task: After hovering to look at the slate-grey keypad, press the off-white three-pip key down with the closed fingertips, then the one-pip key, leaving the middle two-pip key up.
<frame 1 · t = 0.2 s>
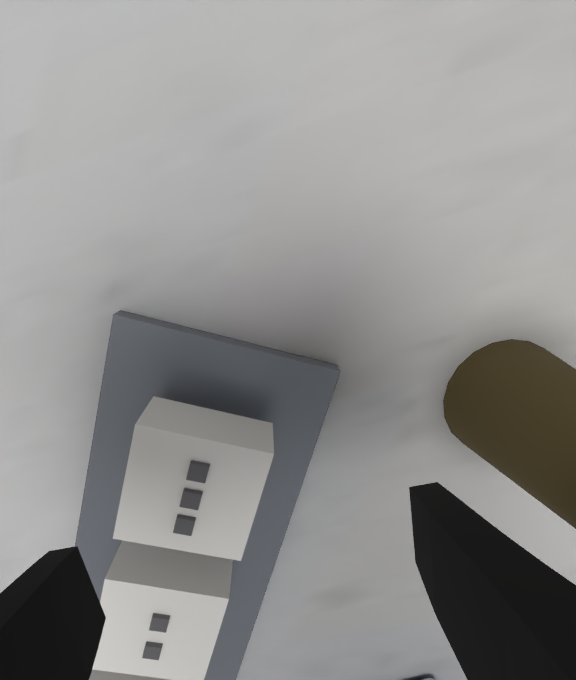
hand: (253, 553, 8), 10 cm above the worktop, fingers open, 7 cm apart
keypad base: (179, 548, 20), on the worktop
key three: (196, 479, 15), point 3 cm above the worktop, slide at 0.0 cm
cork: (500, 396, 19), on the worktop
key two: (163, 610, 17), point 3 cm above the worktop, slide at 0.0 cm
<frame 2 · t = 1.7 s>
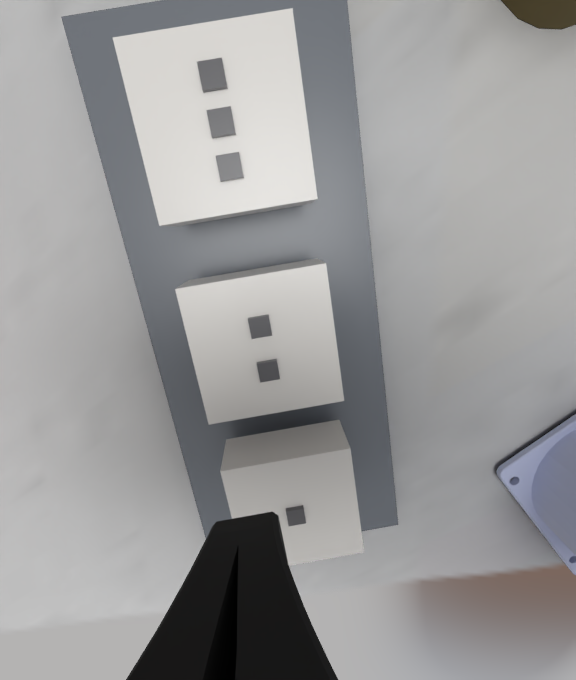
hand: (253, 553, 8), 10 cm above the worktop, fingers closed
keypad base: (264, 319, 17), on the worktop
key three: (225, 132, 12), point 3 cm above the worktop, slide at 0.0 cm
key one: (293, 496, 16), point 3 cm above the worktop, slide at 0.0 cm
key two: (264, 339, 14), point 3 cm above the worktop, slide at 0.0 cm
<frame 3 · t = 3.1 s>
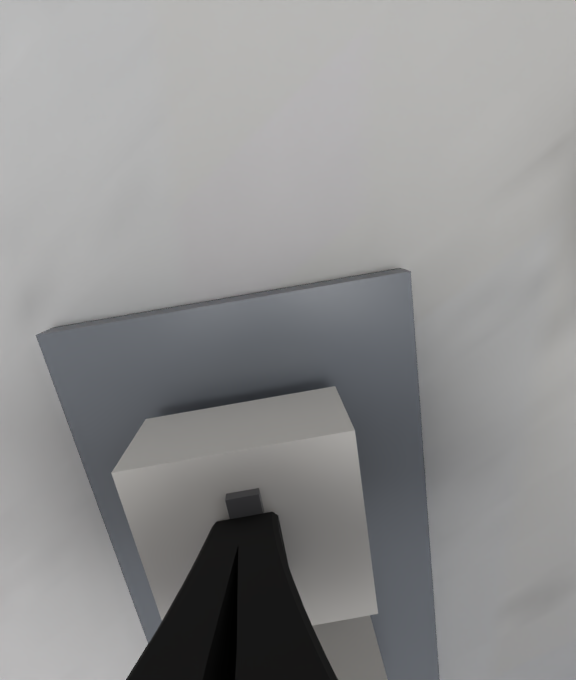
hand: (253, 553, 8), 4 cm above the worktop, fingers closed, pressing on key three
keypad base: (293, 613, 14), on the worktop
key three: (257, 515, 9), point 3 cm above the worktop, slide at 0.6 cm, touching gripper
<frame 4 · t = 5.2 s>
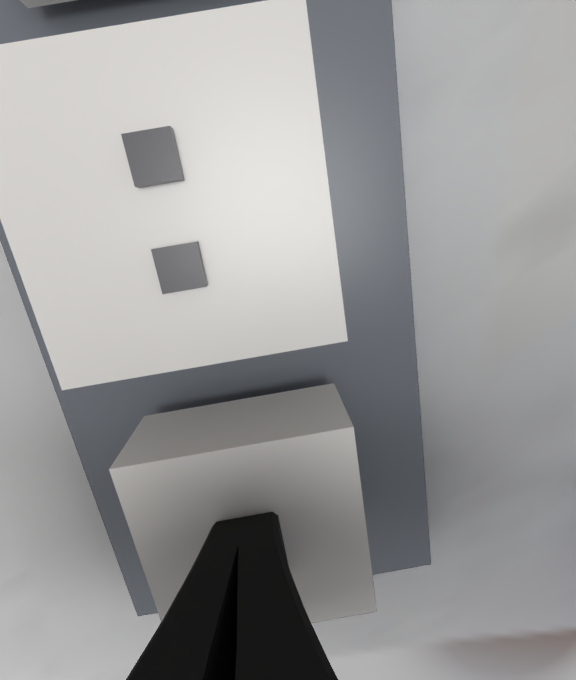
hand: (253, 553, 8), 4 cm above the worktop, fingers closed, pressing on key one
keypad base: (210, 221, 10), on the worktop
key one: (255, 512, 9), point 3 cm above the worktop, slide at 0.6 cm, touching gripper
key two: (183, 217, 7), point 3 cm above the worktop, slide at 0.0 cm
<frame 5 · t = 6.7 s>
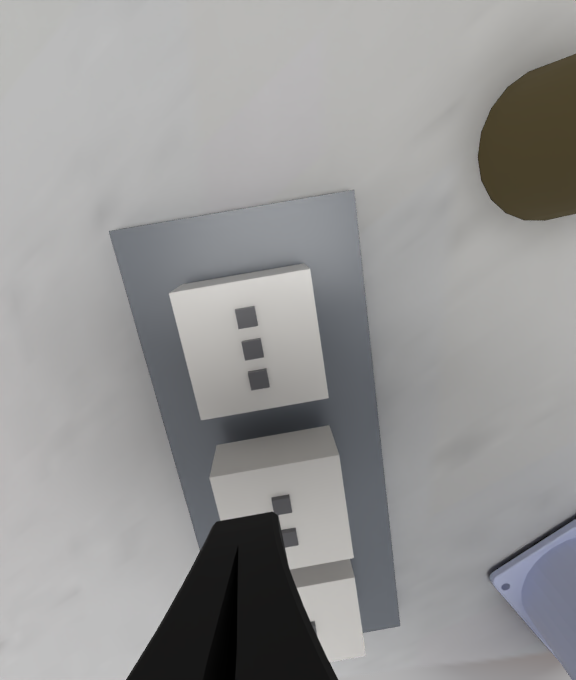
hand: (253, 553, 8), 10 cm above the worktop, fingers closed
keypad base: (280, 455, 19), on the worktop
key three: (253, 340, 15), point 3 cm above the worktop, slide at 0.8 cm
key one: (306, 606, 19), point 3 cm above the worktop, slide at 0.8 cm
cork: (544, 147, 16), on the worktop
key two: (283, 501, 16), point 3 cm above the worktop, slide at 0.0 cm
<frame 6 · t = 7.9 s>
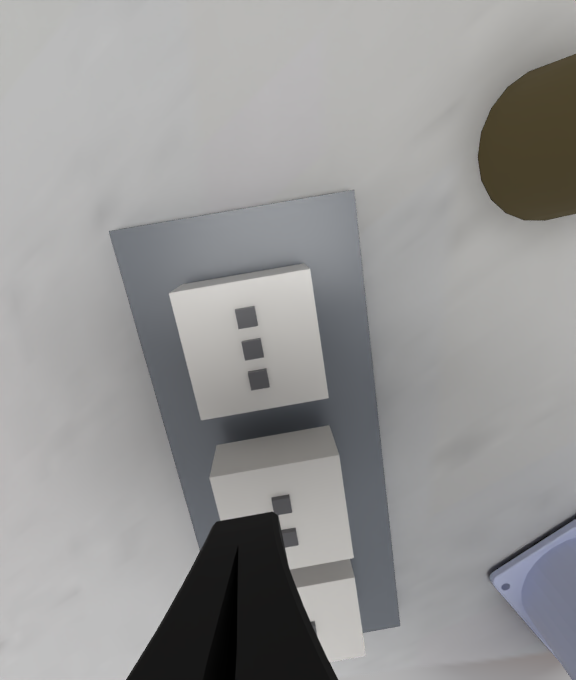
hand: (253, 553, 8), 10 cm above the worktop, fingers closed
keypad base: (280, 455, 19), on the worktop
key three: (253, 340, 15), point 3 cm above the worktop, slide at 0.8 cm
key one: (306, 606, 19), point 3 cm above the worktop, slide at 0.8 cm
cork: (544, 147, 16), on the worktop
key two: (283, 501, 16), point 3 cm above the worktop, slide at 0.0 cm
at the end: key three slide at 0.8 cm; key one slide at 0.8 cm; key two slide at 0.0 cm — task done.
